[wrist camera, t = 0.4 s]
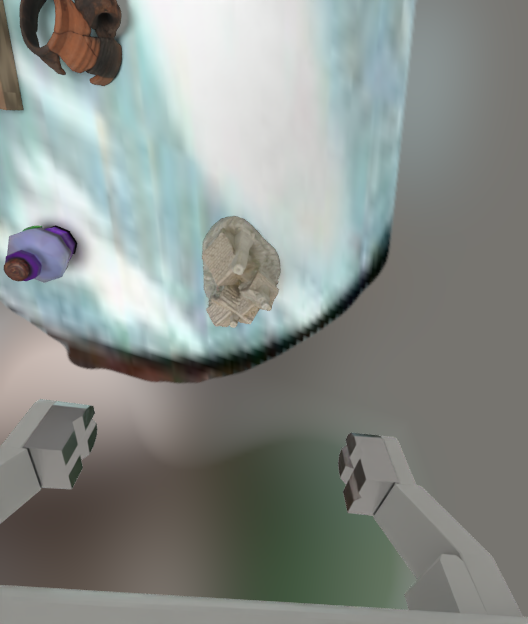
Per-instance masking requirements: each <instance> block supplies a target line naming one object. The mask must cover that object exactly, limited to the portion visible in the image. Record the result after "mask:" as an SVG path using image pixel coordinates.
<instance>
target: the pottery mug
mask: <svg viewBox="0 0 528 624" xmlns="http://www.w3.org/2000/svg"><path fill="white" fill-rule="evenodd" d="M74 1H75V3H73V1H72V0H54V3H55V14H56V16H55V26H54V32H53V34H52V37H51V38H50V40H49V42H48V43H47V45H45V46H43V47H41V48H40V47H39V42H38V38H37V34H36V32H37V30H38V14H39V12H40V9H41V8H42V6H43V5H44V3H45V2H46V0H21V4H20V28H21V33H22V36H23V39H24V42H25V44H26V45H27V47H28V48H29V49H30V50H31V51H32V52H33V53H34V54H36V55H37V56H39V57H40V58H41V59H42V60H43V61H44V62H45V63H46V64H47V65H48V66H49V67H51V68H52V69H54V70H55V71H56V72H57V73H58V74H62V75H66V73H65V71H64V70H63V69H62V68H61V64H60V57H61V58H62V60H63V61H64V62H65V63H66V64H67V66H68V67H69V68H70V69H71V70H72V71H75V72H77V73H82V72H84V71H86V72H87V73H90V74H94V75H96V76H94V77H93V78H91V79H90V82H91V83H92V84H95V85H102V86H105V85H107V84H109V83H110V82H111V81H112V80H113V78H115V76H116V74H117V72H118V71H119V67H120V65H121V60H122V57H121V56H122V49H121V45H120V44H118V43H117V41H116V40H115V39H114V37H115V36H116V31H117V29H118V28H119V26H120V23H121V10H120V7H119V6H118V4H117V1H116V0H74ZM91 28H92V29H95V31H96V33H97V35H98V37H92V36H90V34H91ZM59 56H60V57H59Z"/></svg>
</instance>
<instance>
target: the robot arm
mask: <svg viewBox="0 0 528 624" xmlns="http://www.w3.org/2000/svg"><path fill="white" fill-rule="evenodd" d="M94 414H95V411H94V407H93V406H89V405H82V404H75V403H67V402H60V401H51V400H43V399H40V400H38V401H37V402H35V403H34V404H33V406H32V407H31V408H30V409H29V411H28V412H27V413H26V414H25V416H24V417H23V418H22V420H21V421H20V422H19V423H18V425H17V426H16V427H15V429H14V430H13V431H12V432H11V434H10V435H9V436H8V437H7V439H6V440H5V441H4V442H3V444H2V445H1V446H0V523H2V522H3V521H4V520H5V519H6V518H8V517H9V516H10V515H11V514H12V513H14V512H15V511H16V510H17V509H18V508H19V507H21V506H22V505H23V504H24V503H25V502H27V501H28V500H29V499H30V498H31V497H32V496H33V495H35V494H36V493H37V492H38V491H40V490H41V488H59V489H72V488H73V486H74V484H75V482H76V480H77V478H78V476H79V474H80V472H81V470H82V468H83V466H82V462H81V460H82V459H84V458H85V457H86V456H88V455H89V454H90V452H91V450H92V448H93V446H94V443H95V440H96V436H97V423H96V422H95V421H94V420H93V419H92V418H93V416H94ZM346 443H347V445H346V446H344V447H343V448H342V449H341V451H340V454H339V460H338V467H339V474H340V478H341V479H342V480H343V482H344V483H345V484H346V486H345V489H344V491H343V494H344V498H345V503H346V508H347V512H348V513H354V514H363V515H372V516H374V519H375V520H376V522H377V523H378V524H379V526H380V527H381V529H382V530H383V532H384V533H385V534H386V536H387V537H388V539H389V540H390V542H391V543H392V544H393V546H394V547H395V549H396V550H397V552H398V553H399V554H400V556H401V557H402V559H403V560H404V561H405V563H406V564H407V566H408V567H409V569H410V570H411V571H412V573H413V574H414V576H415V577H416V579H417V580H416V582H414V583H413V584H412V586H410V588H409V589H408V590H407V591H406V593H405V598H406V602H407V606H408V609H409V610H403V609H386V608H370V607H369V608H368V607H353V606H337V605H336V606H335V605H321V604H305V603H304V604H303V603H288V602H272V601H255V600H238V599H222V598H205V597H189V596H173V595H156V594H140V593H123V592H107V591H90V590H73V589H56V588H41V587H23V586H7V585H0V624H528V617H523V616H522V614H521V612H520V610H519V608H518V606H517V604H516V602H515V600H514V598H513V596H512V594H511V592H510V590H509V588H508V586H507V584H506V582H505V580H504V578H503V576H502V574H501V572H500V570H499V569H498V566H497V565H496V563H495V561H494V559H493V557H492V556H491V555H490V554H489V553H488V552H487V551H486V550H485V549H484V548H483V547H482V546H481V545H480V544H479V543H478V542H477V541H476V540H475V539H474V538H473V537H472V536H471V535H470V534H469V533H468V532H467V531H466V530H465V529H464V528H463V527H462V526H461V525H460V524H459V523H458V522H457V521H456V520H455V519H454V518H453V517H452V516H451V515H450V514H449V513H448V512H447V511H446V510H445V509H444V508H443V507H442V506H441V505H440V504H439V503H438V502H437V501H436V500H435V499H434V498H433V497H432V496H431V495H430V494H429V493H428V492H427V491H426V490H424V488H423V487H422V486H418V485H416V483H415V480H414V478H413V476H412V473H411V471H410V468H409V466H408V464H407V461H406V459H405V456H404V454H403V451H402V449H401V447H400V444H399V442H398V440H397V439H396V438H395V437H388V436H379V435H371V434H360V433H350V434H348V436H347V438H346Z"/></svg>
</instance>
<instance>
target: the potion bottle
mask: <svg viewBox="0 0 528 624" xmlns="http://www.w3.org/2000/svg"><path fill="white" fill-rule="evenodd" d="M76 246H77V242H76V240H75V239H74V237H73V236H72V234H71V233H70V231H68V230H65V229H63V228H61V227H58V226H53V227H50V228H46V229H43V228H42V226H32V227H28V228H26V229H24V230H23V231H22V232H20V233H17V234H14V235H12V236H9V242H8V253H7V256H6V261H5V265H4V271H5V273H6V274H7V276H8V277H9V278H11V279H12V280H15V281H28V280H31V279H36V280H39V281H41V282H44V283H45V282H48V281H51V280H54V279H57V278H60V277H62V276H63V274H64V272H65V270H66V269H67V267H68V263H69V260H70V258H71V256H72V255H73V254H75V251H76Z"/></svg>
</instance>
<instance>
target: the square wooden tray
mask: <svg viewBox="0 0 528 624" xmlns="http://www.w3.org/2000/svg"><path fill="white" fill-rule="evenodd" d="M0 109H3V110H23V105H22V100H21V94H20V89H19V84H18V78H17V73H16V68H15V62H14V57H13V52H12V47H11V41H10V36H9V31H8V25H7V20H6V15H5V9H4V4H3V0H0Z"/></svg>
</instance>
